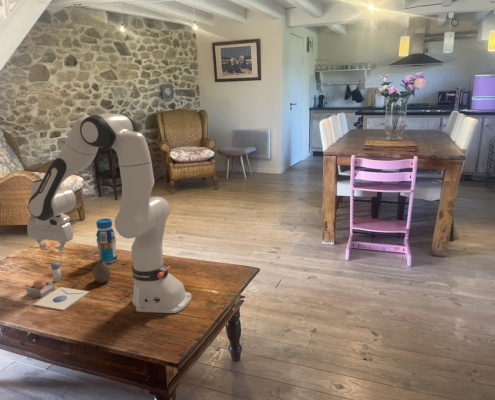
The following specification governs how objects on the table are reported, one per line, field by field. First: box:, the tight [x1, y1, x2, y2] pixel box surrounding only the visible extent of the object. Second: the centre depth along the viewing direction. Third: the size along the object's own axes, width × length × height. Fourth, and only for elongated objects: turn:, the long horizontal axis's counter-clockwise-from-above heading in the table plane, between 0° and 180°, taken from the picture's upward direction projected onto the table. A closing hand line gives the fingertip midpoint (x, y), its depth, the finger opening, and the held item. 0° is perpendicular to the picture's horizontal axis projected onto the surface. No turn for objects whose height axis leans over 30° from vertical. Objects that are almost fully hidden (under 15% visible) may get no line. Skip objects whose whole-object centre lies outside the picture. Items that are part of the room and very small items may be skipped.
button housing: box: [25, 280, 56, 299], centre depth 156 cm, size 7×7×3 cm
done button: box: [33, 278, 46, 289], centre depth 155 cm, size 4×4×3 cm
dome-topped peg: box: [50, 261, 62, 283], centre depth 164 cm, size 3×3×8 cm
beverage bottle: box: [95, 218, 118, 264], centre depth 183 cm, size 8×8×20 cm
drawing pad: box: [33, 286, 90, 312], centre depth 151 cm, size 14×14×1 cm
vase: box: [92, 260, 112, 284], centre depth 164 cm, size 7×7×9 cm
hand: (52, 249), depth 162 cm, fingers open, 8 cm apart
